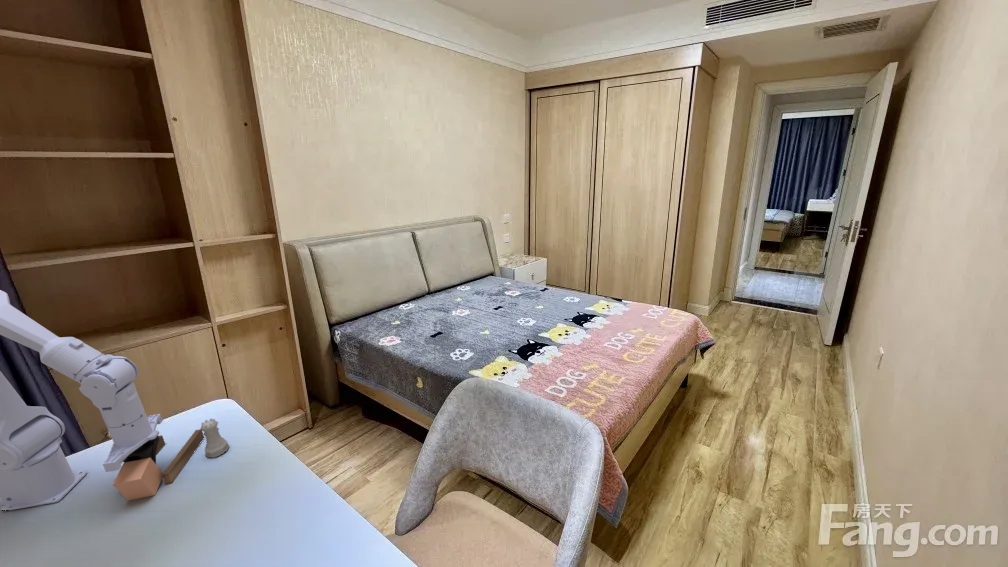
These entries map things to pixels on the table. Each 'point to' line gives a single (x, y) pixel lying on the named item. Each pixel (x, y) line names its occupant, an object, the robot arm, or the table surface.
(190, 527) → the table surface
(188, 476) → the table surface
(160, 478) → the terracotta block
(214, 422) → the rook chess piece
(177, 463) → the walnut channel
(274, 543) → the table surface
